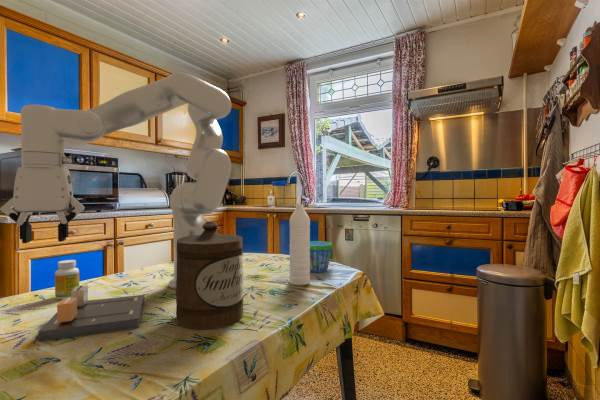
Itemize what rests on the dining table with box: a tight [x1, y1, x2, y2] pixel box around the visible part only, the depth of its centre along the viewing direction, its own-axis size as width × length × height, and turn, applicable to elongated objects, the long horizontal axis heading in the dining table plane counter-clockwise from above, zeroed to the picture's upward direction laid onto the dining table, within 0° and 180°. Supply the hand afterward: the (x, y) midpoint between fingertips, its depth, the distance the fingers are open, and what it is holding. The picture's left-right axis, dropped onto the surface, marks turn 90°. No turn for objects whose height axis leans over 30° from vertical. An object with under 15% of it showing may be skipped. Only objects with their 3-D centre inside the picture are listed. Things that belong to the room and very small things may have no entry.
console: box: [38, 294, 145, 343], centre depth 72 cm, size 17×17×2 cm
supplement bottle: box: [54, 259, 80, 300], centre depth 88 cm, size 5×5×10 cm
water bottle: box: [289, 203, 317, 286], centre depth 101 cm, size 9×6×25 cm
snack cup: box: [310, 240, 335, 274], centre depth 117 cm, size 16×10×10 cm
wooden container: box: [175, 221, 244, 330], centre depth 74 cm, size 15×15×22 cm
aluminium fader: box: [71, 285, 89, 306], centre depth 75 cm, size 2×4×4 cm, turn 22°
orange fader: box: [56, 297, 77, 323], centre depth 67 cm, size 2×4×4 cm, turn 22°
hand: (44, 240), depth 73 cm, fingers open, 5 cm apart
